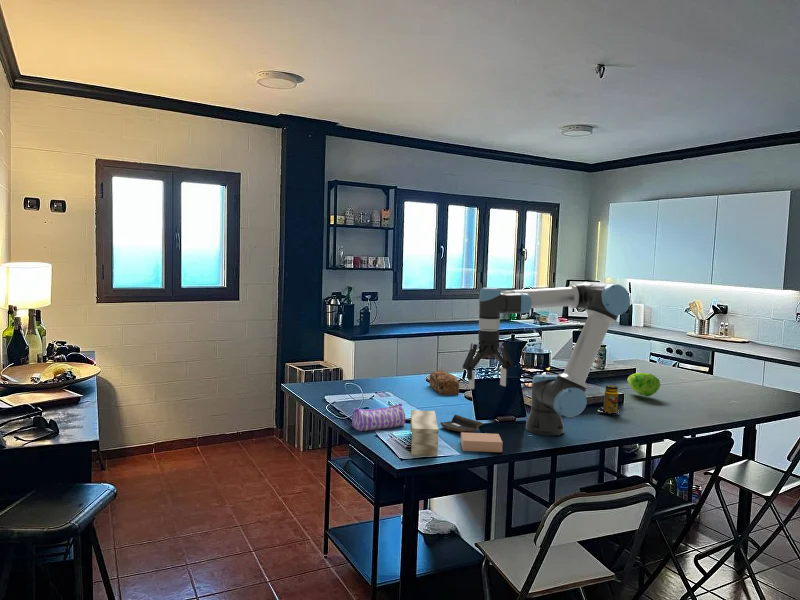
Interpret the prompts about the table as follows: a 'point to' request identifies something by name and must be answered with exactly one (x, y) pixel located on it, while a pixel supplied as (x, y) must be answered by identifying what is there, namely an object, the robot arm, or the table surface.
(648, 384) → the green mango
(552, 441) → the table surface
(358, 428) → the pencil case
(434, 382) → the bread
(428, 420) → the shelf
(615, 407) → the condiment
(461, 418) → the pottery fragment
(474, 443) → the tile
